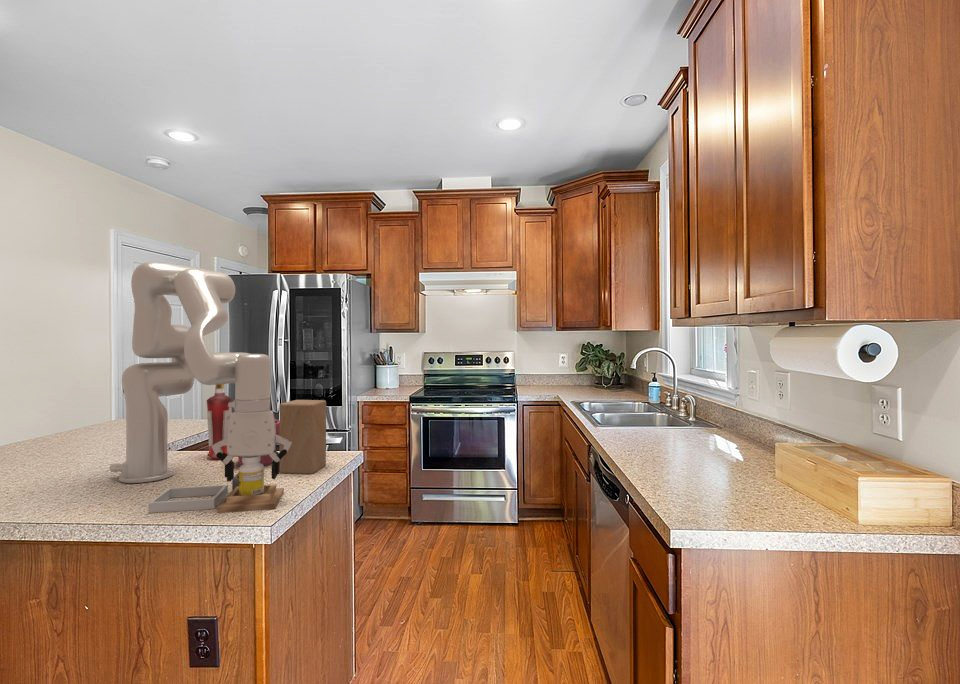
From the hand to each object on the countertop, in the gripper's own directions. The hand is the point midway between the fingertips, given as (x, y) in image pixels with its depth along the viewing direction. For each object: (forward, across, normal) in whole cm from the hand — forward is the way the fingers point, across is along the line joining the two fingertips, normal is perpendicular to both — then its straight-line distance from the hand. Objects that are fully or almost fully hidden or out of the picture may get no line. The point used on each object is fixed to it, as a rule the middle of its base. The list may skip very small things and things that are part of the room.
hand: (252, 478), depth 116 cm
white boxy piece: (+5, -3, +10) cm, 11 cm away
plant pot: (+6, -7, +38) cm, 40 cm away
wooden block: (+6, +8, +28) cm, 30 cm away
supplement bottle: (+4, 0, 0) cm, 5 cm away
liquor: (+6, -20, +48) cm, 53 cm away
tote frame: (+5, -14, +2) cm, 15 cm away
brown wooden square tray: (+5, 0, 0) cm, 5 cm away
